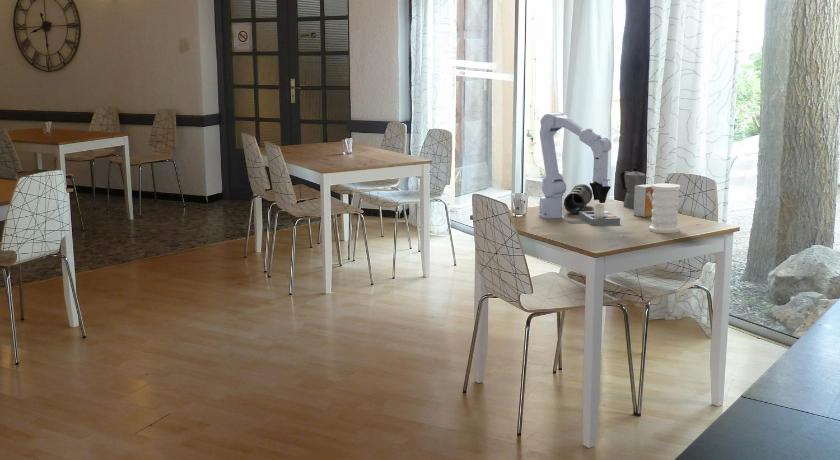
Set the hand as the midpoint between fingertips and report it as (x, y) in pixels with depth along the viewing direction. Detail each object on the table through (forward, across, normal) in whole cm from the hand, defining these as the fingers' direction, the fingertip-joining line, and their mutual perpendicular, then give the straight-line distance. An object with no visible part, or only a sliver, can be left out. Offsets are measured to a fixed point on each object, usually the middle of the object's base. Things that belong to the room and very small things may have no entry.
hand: (599, 201), depth 382 cm
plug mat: (+9, +2, +8) cm, 13 cm away
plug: (+9, 0, 0) cm, 9 cm away
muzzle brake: (+10, +32, 0) cm, 34 cm away
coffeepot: (+10, +40, -28) cm, 49 cm away
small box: (+10, +16, -26) cm, 32 cm away
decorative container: (+10, -16, -22) cm, 29 cm away
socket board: (+9, +4, -2) cm, 11 cm away
